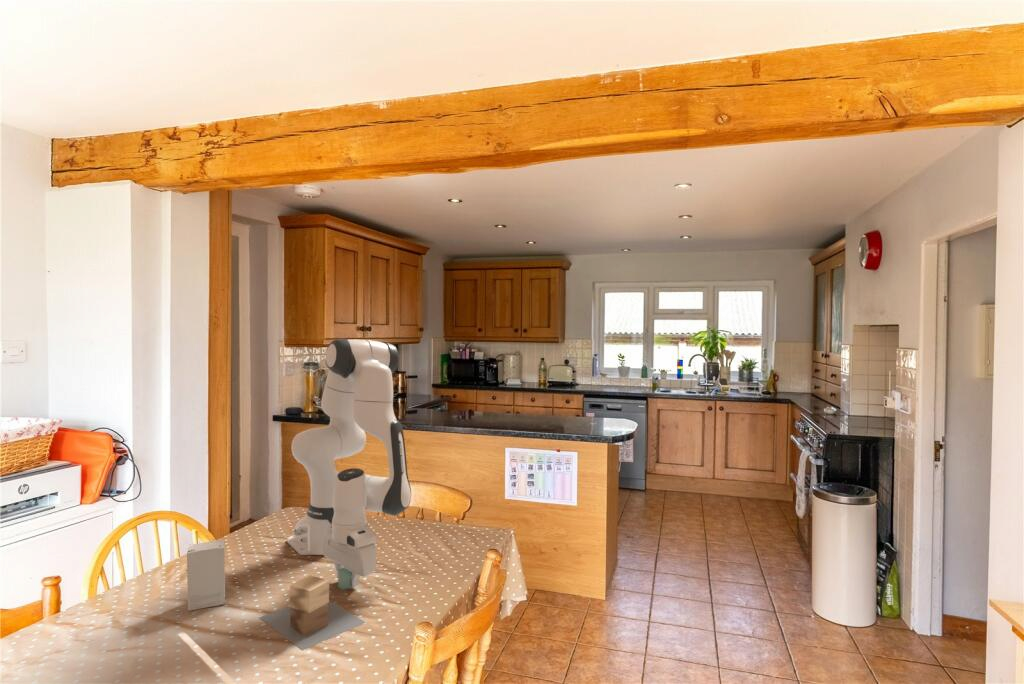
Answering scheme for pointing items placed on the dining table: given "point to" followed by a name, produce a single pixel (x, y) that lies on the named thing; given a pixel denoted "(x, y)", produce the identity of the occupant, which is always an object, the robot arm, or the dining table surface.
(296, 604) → the top block
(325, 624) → the bottom block
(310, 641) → the board
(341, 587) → the mint green cylinder
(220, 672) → the dining table surface
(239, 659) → the dining table surface
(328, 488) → the robot arm
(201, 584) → the skincare box
